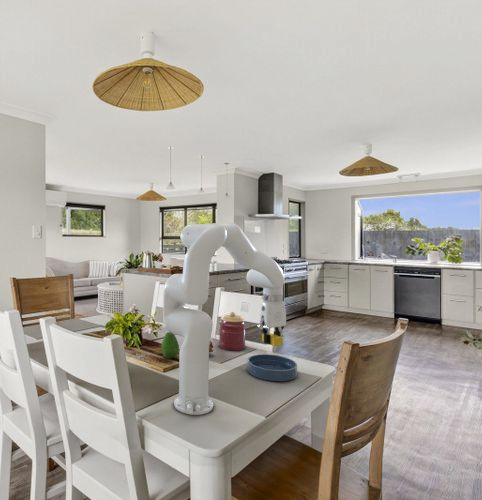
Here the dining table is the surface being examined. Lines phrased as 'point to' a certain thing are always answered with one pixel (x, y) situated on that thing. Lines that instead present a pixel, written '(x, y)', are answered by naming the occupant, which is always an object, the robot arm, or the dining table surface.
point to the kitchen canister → (232, 332)
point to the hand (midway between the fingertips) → (272, 342)
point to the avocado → (170, 345)
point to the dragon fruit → (210, 347)
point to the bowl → (272, 367)
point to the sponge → (274, 340)
